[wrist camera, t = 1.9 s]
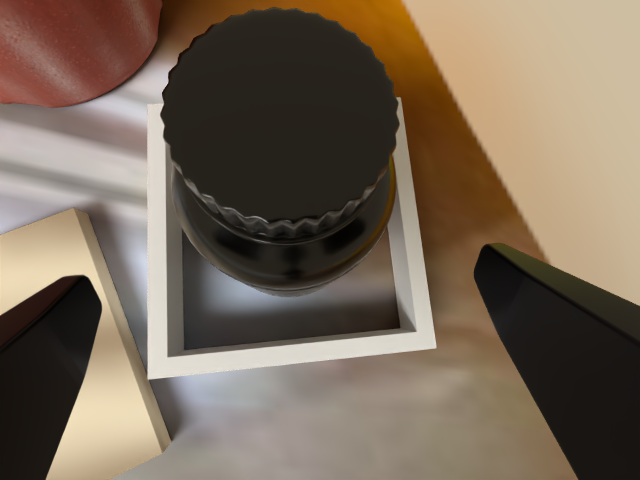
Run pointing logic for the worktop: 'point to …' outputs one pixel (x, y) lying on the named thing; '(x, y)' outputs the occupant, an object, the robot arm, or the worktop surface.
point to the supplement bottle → (281, 148)
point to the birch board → (106, 358)
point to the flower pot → (72, 47)
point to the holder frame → (176, 361)
